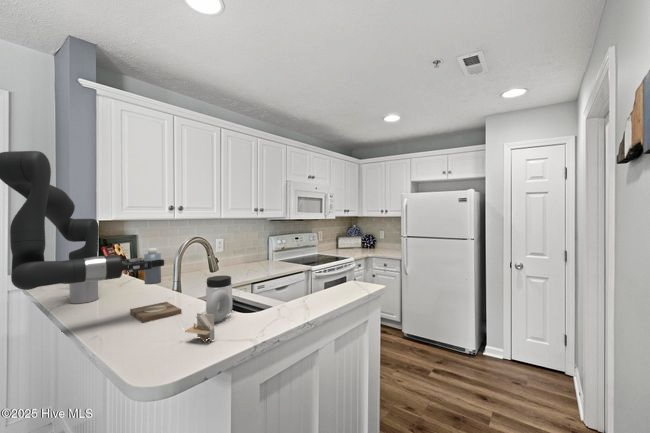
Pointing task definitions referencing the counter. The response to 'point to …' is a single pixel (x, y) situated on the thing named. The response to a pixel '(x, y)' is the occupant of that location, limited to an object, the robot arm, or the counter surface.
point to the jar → (219, 287)
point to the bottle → (155, 273)
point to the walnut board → (155, 311)
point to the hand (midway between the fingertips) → (160, 261)
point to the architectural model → (203, 327)
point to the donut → (213, 302)
